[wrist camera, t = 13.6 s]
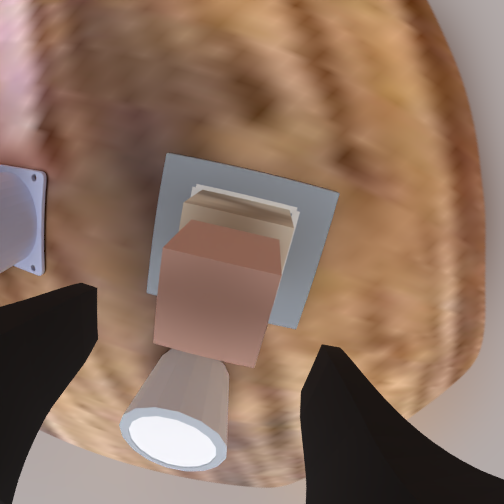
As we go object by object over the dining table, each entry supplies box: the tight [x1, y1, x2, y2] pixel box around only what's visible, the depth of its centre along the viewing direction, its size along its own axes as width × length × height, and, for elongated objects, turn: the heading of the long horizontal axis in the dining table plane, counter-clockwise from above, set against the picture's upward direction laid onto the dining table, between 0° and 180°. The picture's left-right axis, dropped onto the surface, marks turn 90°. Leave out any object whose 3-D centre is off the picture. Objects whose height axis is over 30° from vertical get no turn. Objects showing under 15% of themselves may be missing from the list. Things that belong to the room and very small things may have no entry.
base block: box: [179, 190, 294, 273], centre depth 17 cm, size 5×5×4 cm
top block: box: [153, 219, 282, 368], centre depth 13 cm, size 4×4×4 cm
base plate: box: [147, 153, 339, 329], centre depth 19 cm, size 10×9×1 cm
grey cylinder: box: [119, 349, 229, 471], centre depth 19 cm, size 7×7×7 cm
